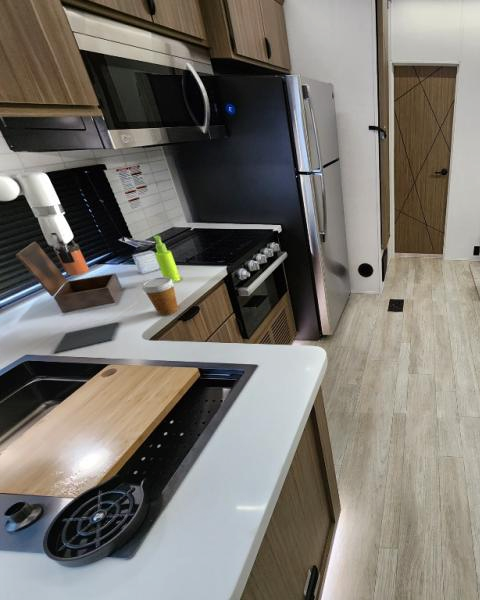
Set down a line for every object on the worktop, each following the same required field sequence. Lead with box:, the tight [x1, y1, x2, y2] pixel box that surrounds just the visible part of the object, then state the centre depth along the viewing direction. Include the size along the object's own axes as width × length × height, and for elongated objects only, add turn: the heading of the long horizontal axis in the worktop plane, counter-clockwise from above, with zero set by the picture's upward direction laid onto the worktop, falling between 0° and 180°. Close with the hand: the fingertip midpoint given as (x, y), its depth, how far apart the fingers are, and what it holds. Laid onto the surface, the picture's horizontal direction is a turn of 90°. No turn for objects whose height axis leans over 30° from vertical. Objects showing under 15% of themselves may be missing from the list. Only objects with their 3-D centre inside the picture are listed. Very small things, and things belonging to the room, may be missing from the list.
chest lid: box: [15, 241, 68, 297], centre depth 119 cm, size 16×16×1 cm
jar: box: [53, 243, 90, 276], centre depth 122 cm, size 7×7×10 cm
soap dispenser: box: [152, 235, 182, 283], centre depth 143 cm, size 6×7×20 cm
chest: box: [53, 272, 123, 314], centre depth 129 cm, size 16×16×7 cm
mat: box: [54, 321, 119, 354], centre depth 108 cm, size 14×12×1 cm
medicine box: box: [131, 250, 161, 275], centre depth 155 cm, size 8×4×9 cm, turn 144°
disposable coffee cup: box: [141, 276, 179, 316], centre depth 120 cm, size 10×10×12 cm
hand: (72, 259), depth 122 cm, fingers closed on jar, 6 cm apart
